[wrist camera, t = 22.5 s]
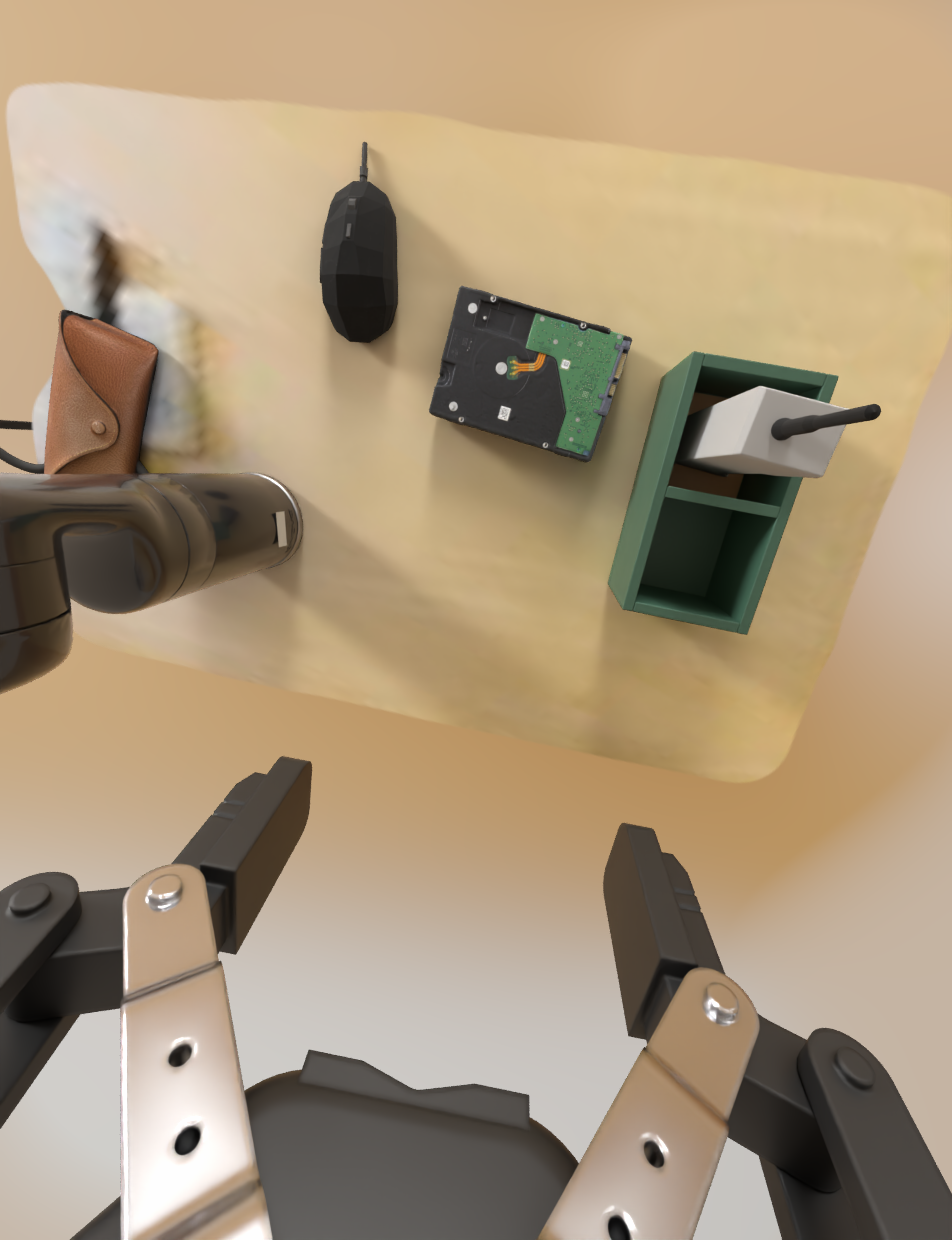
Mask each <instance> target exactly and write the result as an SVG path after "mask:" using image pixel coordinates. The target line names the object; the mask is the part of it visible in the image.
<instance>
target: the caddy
mask: <svg viewBox="0 0 952 1240" xmlns="http://www.w3.org/2000/svg"><path fill="white" fill-rule="evenodd" d="M837 380H838V376H837V375H831V374H825V373H820V372H814V371H808V370H802V369H796V368H790V367H784V366H778V365H772V364H766V363H760V362H755V361H749V360H743V359H737V358H731V357H725V356H719V355H713V354H707V353H701V352H695V351H694V352H692V353H691V354H690V355H689V356H688V357H686V358H685V359H684V360H683V361H681V362H680V363H679V364H678V365H677V366H675V367H674V368H673V369H672V370H670V371H669V372H668V373H667V374H666V375H664V376H663V377H662V379H661V383H660V386H659V390H658V394H657V398H656V402H655V405H654V409H653V413H652V417H651V421H650V424H649V428H648V432H647V436H646V440H645V443H644V447H643V451H642V455H641V459H640V462H639V466H638V470H637V474H636V478H635V481H634V485H633V489H632V493H631V497H630V500H629V504H628V508H627V512H626V516H625V519H624V523H623V527H622V531H621V535H620V539H619V542H618V546H617V550H616V554H615V558H614V561H613V565H612V569H611V573H610V577H609V580H608V585H609V587H610V588H611V590H612V592H613V593H614V595H615V597H616V599H617V600H618V602H619V604H620V606H621V607H622V609H624V610H629V611H634V612H638V613H643V614H648V615H653V616H658V617H663V618H668V619H672V620H677V621H682V622H687V623H692V624H697V625H702V626H706V627H711V628H716V629H721V630H726V631H731V632H737V633H740V634H745V635H747V633H748V631H749V628H750V625H751V622H752V619H753V616H754V614H755V611H756V608H757V605H758V602H759V600H760V597H761V594H762V591H763V588H764V586H765V583H766V580H767V577H768V574H769V571H770V569H771V566H772V563H773V560H774V557H775V555H776V552H777V549H778V546H779V543H780V540H781V538H782V535H783V532H784V529H785V526H786V524H787V521H788V518H789V515H790V512H791V509H792V507H793V504H794V501H795V498H796V495H797V493H798V490H799V487H800V484H801V481H802V479H803V477H789V476H774V475H767V474H729V475H728V477H722V476H718V475H715V474H711V473H708V472H704V471H700V470H697V469H693V468H689V467H686V466H682V465H678V464H675V463H674V462H675V458H676V455H677V451H678V448H679V444H680V441H681V437H682V433H683V430H684V426H685V423H686V419H687V416H688V415H691V414H693V413H696V412H698V411H700V410H703V409H705V408H708V407H710V406H713V405H715V404H717V403H720V402H722V401H725V400H727V399H729V398H732V397H734V396H737V395H739V394H742V393H744V392H746V391H749V390H751V389H754V388H756V387H759V386H764V387H767V388H771V389H775V390H779V391H783V392H786V393H790V394H794V395H798V396H801V397H805V398H809V399H813V400H817V401H820V402H824V403H828V404H829V402H830V400H831V397H832V394H833V391H834V388H835V386H836V383H837Z"/></svg>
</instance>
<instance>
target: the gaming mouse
mask: <svg viewBox="0 0 952 1240" xmlns="http://www.w3.org/2000/svg"><path fill="white" fill-rule="evenodd" d="M366 163H367V143H366V142H363V147H362V166H360V181H353V182H352V183H350V184H349V185H347V186H346V187H344V188H343V189H342V190H340V191H339V192H337V193H336V194H335V196H334V198H333V200H332V202H331V205H330V209H329V213H328V217H327V221H326V223H325V228H324V234H323V240H322V243H323V248H321V261H320V283H322V296H323V303H324V306H325V308H326V310H327V313H328V315H329V317H330V319H331V322H332V324H333V326H334V328H335V330H336V331H337V332H338V333H339V334H341V335H342V336H343V337H345V338H346V339H347V340H349V341H350V342H367V343H370V342H371V341H373V340H374V339H376V338H377V337H379V336H381V335H382V334H384V333H385V332H386V331H388V330H389V328H390V326H391V325H392V323H393V319H394V315H395V311H396V307H397V303H398V278H397V233H396V217H395V214H394V212H393V209H392V207H391V204H390V202H389V199H388V197H387V196H386V194H385V193H383V192H382V191H381V190H379V189H378V188H377V187H376V186H374V185H373V184H372V183H371V182H367V174H368V168H367V167H366Z"/></svg>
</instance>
